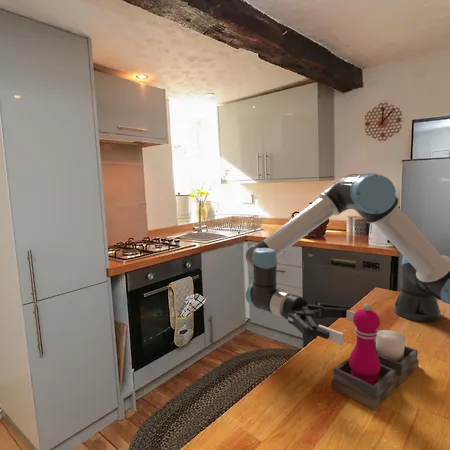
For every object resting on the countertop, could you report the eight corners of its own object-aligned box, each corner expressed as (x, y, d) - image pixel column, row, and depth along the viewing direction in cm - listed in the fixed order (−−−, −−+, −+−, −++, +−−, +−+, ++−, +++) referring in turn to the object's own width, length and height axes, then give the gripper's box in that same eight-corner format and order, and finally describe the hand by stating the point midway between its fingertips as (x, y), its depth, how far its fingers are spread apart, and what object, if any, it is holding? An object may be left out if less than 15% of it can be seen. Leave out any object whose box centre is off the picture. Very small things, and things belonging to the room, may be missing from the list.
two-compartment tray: (378, 351, 100) (379, 335, 99) (418, 366, 91) (419, 349, 91) (330, 387, 83) (331, 369, 82) (373, 410, 75) (374, 390, 74)
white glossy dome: (383, 350, 96) (385, 327, 95) (408, 361, 91) (410, 337, 89) (369, 358, 92) (371, 334, 91) (394, 370, 87) (396, 345, 85)
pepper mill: (383, 391, 78) (387, 310, 75) (350, 387, 80) (354, 308, 77) (375, 373, 85) (379, 299, 82) (346, 370, 87) (348, 297, 84)
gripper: (313, 307, 107) (379, 329, 91) (260, 331, 91) (329, 363, 75) (313, 284, 106) (380, 302, 90) (260, 305, 89) (329, 332, 74)
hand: (357, 330), depth 82 cm, fingers open, 13 cm apart
